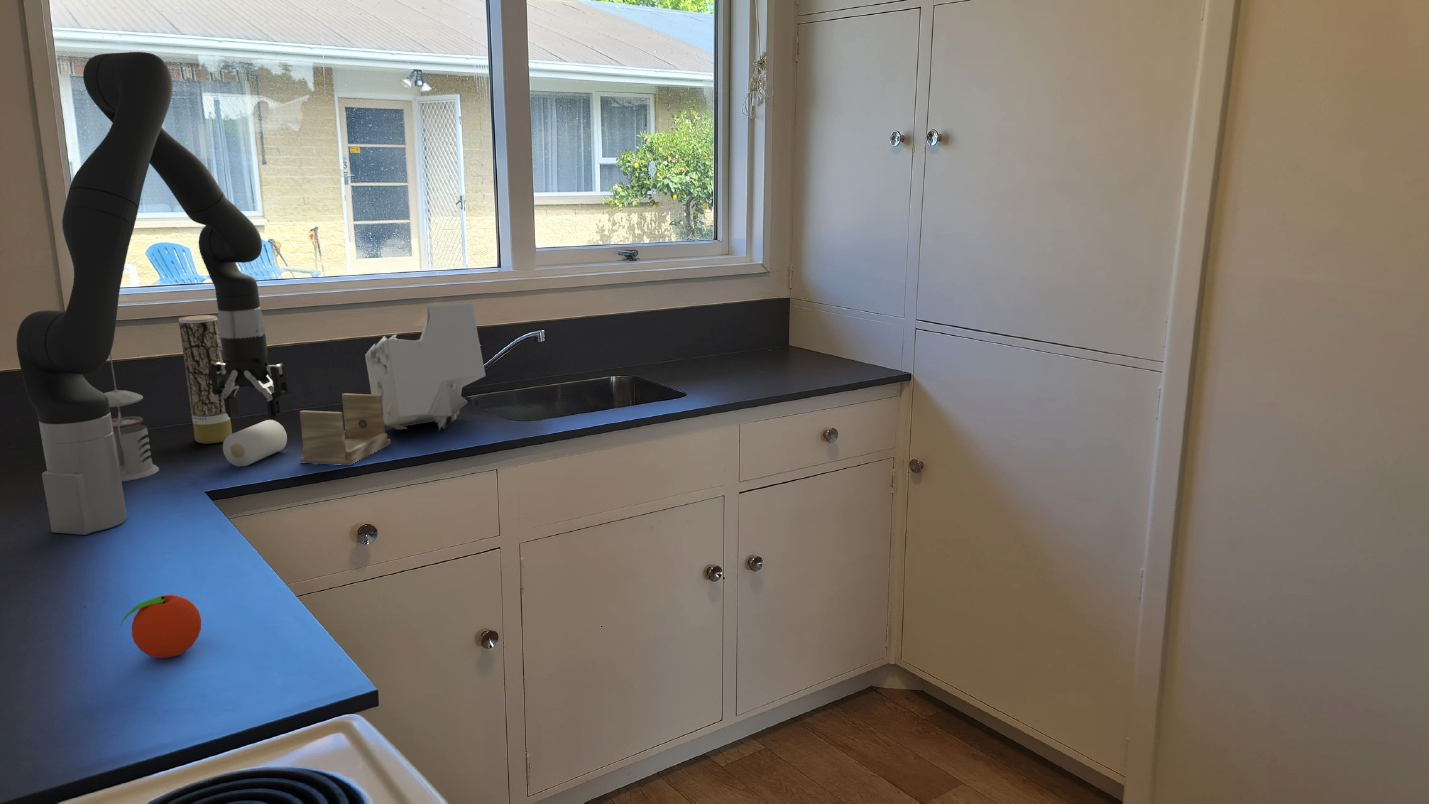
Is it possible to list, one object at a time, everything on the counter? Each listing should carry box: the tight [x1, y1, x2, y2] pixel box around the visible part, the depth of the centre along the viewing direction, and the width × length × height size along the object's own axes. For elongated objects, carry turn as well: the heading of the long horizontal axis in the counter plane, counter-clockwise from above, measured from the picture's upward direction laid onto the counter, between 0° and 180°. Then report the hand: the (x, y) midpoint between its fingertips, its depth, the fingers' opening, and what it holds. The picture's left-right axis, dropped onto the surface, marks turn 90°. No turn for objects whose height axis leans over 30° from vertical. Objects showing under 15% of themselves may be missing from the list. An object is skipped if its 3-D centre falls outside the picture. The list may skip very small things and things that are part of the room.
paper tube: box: [178, 314, 233, 445], centre depth 196 cm, size 7×7×25 cm
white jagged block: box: [364, 301, 487, 431], centre depth 205 cm, size 20×16×25 cm
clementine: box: [119, 594, 202, 659], centre depth 111 cm, size 8×7×7 cm
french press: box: [103, 340, 160, 482], centre depth 175 cm, size 10×12×25 cm
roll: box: [222, 419, 288, 467], centre depth 186 cm, size 11×6×6 cm, turn 169°
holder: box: [299, 392, 392, 465], centre depth 188 cm, size 15×10×10 cm, turn 169°
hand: (253, 417), depth 185 cm, fingers open, 8 cm apart
